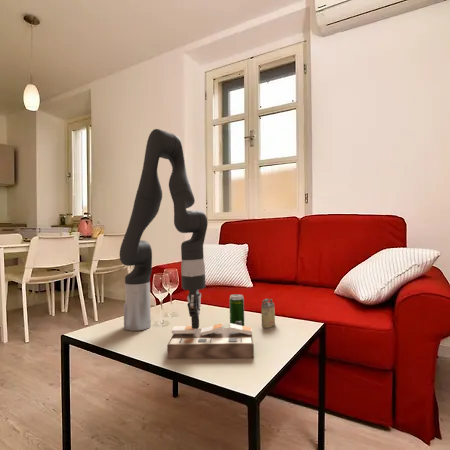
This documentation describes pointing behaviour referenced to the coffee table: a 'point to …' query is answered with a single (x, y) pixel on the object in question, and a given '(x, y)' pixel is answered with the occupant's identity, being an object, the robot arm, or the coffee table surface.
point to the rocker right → (240, 329)
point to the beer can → (237, 309)
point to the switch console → (211, 345)
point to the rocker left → (183, 330)
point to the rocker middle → (212, 329)
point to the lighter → (268, 313)
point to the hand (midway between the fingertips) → (195, 327)
